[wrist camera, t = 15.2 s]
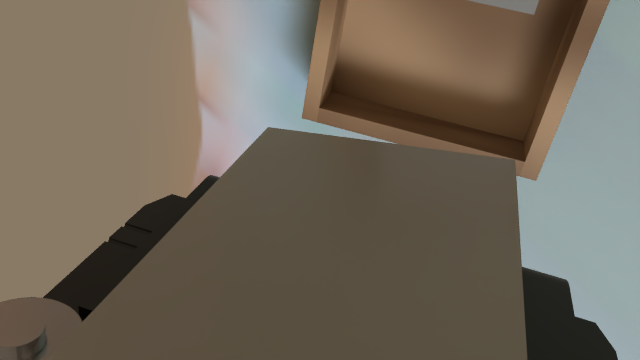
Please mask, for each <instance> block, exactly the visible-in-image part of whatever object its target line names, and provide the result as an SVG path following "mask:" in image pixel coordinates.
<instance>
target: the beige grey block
mask: <svg viewBox="0 0 640 360" xmlns="http://www.w3.org/2000/svg"><path fill="white" fill-rule="evenodd" d="M47 360H527V346H526V329H525V313H524V297H523V280H522V264H521V248H520V231H519V215H518V198H517V182H516V166H515V160H514V159H506V158H498V157H491V156H483V155H476V154H468V153H460V152H453V151H445V150H438V149H430V148H422V147H415V146H407V145H400V144H392V143H384V142H377V141H369V140H361V139H354V138H346V137H339V136H331V135H323V134H316V133H308V132H301V131H293V130H285V129H278V128H270V127H268V128H267V129H266V130H265V131H264V132H263V133H262V134H261V135H260V136H259V137H258V138H257V139H256V140H255V142H254V143H253V144H252V145H251V146H250V147H249V148H248V149H247V150H246V151H245V152H244V153H243V154H242V155H241V156H240V157H239V158H238V159H237V160H236V161H235V162H234V164H233V165H232V166H231V167H230V168H229V169H228V170H227V171H226V172H225V173H224V174H223V175H222V176H221V177H220V178H219V179H218V180H217V181H216V182H215V183H214V185H213V186H212V187H211V188H210V189H209V190H208V191H207V192H206V193H205V194H204V195H203V196H202V197H201V198H200V199H199V200H198V201H197V202H196V203H195V204H194V205H193V207H192V208H191V209H190V210H189V211H188V212H187V213H186V214H185V215H184V216H183V217H182V218H181V219H180V220H179V221H178V222H177V223H176V224H175V225H174V226H173V227H172V229H171V230H170V231H169V232H168V233H167V234H166V235H165V236H164V237H163V238H162V239H161V240H160V241H159V242H158V243H157V244H156V245H155V246H154V247H153V248H152V250H151V251H150V252H149V253H148V254H147V255H146V256H145V257H144V258H143V259H142V260H141V261H140V262H139V263H138V264H137V265H136V266H135V267H134V268H133V269H132V270H131V272H130V273H129V274H128V275H127V276H126V277H125V278H124V279H123V280H122V281H121V282H120V283H119V284H118V285H117V286H116V287H115V288H114V289H113V290H112V291H111V292H110V294H109V295H108V296H107V297H106V298H105V299H104V300H103V301H102V302H101V303H100V304H99V305H98V306H97V307H96V308H95V309H94V310H93V311H92V312H91V313H90V315H89V316H88V317H87V318H86V319H85V320H84V321H83V322H82V323H81V324H80V325H79V326H78V327H77V328H76V329H75V330H74V331H73V332H72V333H71V334H70V335H69V337H68V338H67V339H66V340H65V341H64V342H63V343H62V344H61V345H60V346H59V347H58V348H57V349H56V350H55V351H54V352H53V353H52V354H51V355H50V356H49V357H48V359H47Z"/></svg>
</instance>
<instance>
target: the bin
mask: <svg viewBox="0 0 640 360" xmlns="http://www.w3.org/2000/svg"><path fill="white" fill-rule="evenodd" d="M609 1H610V0H539V2H538V5H537V8H536V11H535V13H534V15H532V14H528V13H523V12H519V11H514V10H509V9H505V8H500V7H496V6H491V5H487V4H482V3H478V2H473V1H469V0H321V1H320V7H319V13H318V19H317V26H316V32H315V38H314V45H313V51H312V57H311V64H310V70H309V76H308V82H307V89H306V95H305V101H304V108H303V114H302V118H303V119H307V120H311V121H315V122H318V123H322V124H326V125H330V126H333V127H337V128H341V129H345V130H348V131H352V132H356V133H360V134H363V135H367V136H371V137H374V138H378V139H382V140H386V141H389V142H393V143H397V144H401V145H407V146H415V147H422V148H430V149H438V150H445V151H453V152H460V153H468V154H476V155H483V156H491V157H498V158H506V159H514V160H515V166H516V176H520V177H524V178H528V179H531V180H535V181H536V180H537V177H538V175H539V172H540V170H541V167H542V165H543V162H544V160H545V158H546V155H547V153H548V150H549V148H550V145H551V143H552V140H553V138H554V136H555V133H556V131H557V128H558V126H559V123H560V121H561V118H562V116H563V113H564V111H565V109H566V106H567V104H568V101H569V99H570V96H571V94H572V91H573V89H574V87H575V84H576V82H577V79H578V77H579V74H580V72H581V69H582V67H583V65H584V62H585V60H586V57H587V55H588V52H589V50H590V47H591V45H592V43H593V40H594V38H595V35H596V33H597V30H598V28H599V25H600V23H601V20H602V18H603V16H604V13H605V11H606V8H607V6H608V3H609Z"/></svg>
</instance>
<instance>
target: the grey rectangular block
mask: <svg viewBox="0 0 640 360" xmlns="http://www.w3.org/2000/svg"><path fill="white" fill-rule="evenodd" d="M469 1H473V2H478V3H482V4H487V5H491V6H496V7H500V8H505V9H509V10H514V11H519V12H523V13H528V14H532V15H534V13H535V11H536V8H537V5H538V2H539V0H469Z"/></svg>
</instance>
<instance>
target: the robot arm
mask: <svg viewBox="0 0 640 360" xmlns="http://www.w3.org/2000/svg"><path fill="white" fill-rule="evenodd" d="M219 178H220V177H216V176H213V175H210V176H208V177H207V178H206V179H205V180H204V181H203V182H202V183H201V184H200V185H199V186H198V187H197V188H196V189H195V190H194V191H193V192H192V193H191V194H190V195H189V196H188V197H187V198H183V197H180V196H177V195H173V194H172V195H169V196H167V197H164V198H162V199H159V200H157V201H155V202H152V203H150V204H147V205H145V206H144V207H142V208H141V209H140V210H139V211H138V212H137V213H136V214H135V215H134V216H133V217H131V218H130V219H129V220H128V221H127V222H126V223H125V226H124V227H120V229H118V230H117V231H116V232H115V233H114V234H113V235H112V236H110V237H109V241H108V242H104V243H103V244H102V245H101V246H99V248H97V249H96V250H95V251H94V252H93V253H92V254H91V255H90V256H89V257H88V258H86V259H85V260H84V261H83V262H82V263H81V264H80V265H79V266H77V267H76V268H75V269H74V270H73V271H72V272H71V273H70V274H69V275H67V276H66V277H65V278H64V279H63V280H62V281H61V282H60V283H59V284H58V285H56V286H55V287H54V288H53V289H52V290H51V291H50V292H49V293H48V294H46V295H45V296H44V297H43V298H37V297H27V298H17V299H11V300H7V301H3V302H0V360H47V359H48V357H49V356H50V355H51V354H52V353H53V352H54V351H55V350H56V349H57V348H58V347H59V346H60V345H61V344H62V343H63V342H64V341H65V340H66V339H67V338H68V337H69V335H70V334H71V333H72V332H73V331H74V330H75V329H76V328H77V327H78V326H79V325H80V324H81V323H82V322H83V321H84V320H85V319H86V318H87V317H88V316H89V315H90V313H91V312H92V311H93V310H94V309H95V308H96V307H97V306H98V305H99V304H100V303H101V302H102V301H103V300H104V299H105V298H106V297H107V296H108V295H109V294H110V292H111V291H112V290H113V289H114V288H115V287H116V286H117V285H118V284H119V283H120V282H121V281H122V280H123V279H124V278H125V277H126V276H127V275H128V274H129V273H130V272H131V270H132V269H133V268H134V267H135V266H136V265H137V264H138V263H139V262H140V261H141V260H142V259H143V258H144V257H145V256H146V255H147V254H148V253H149V252H150V251H151V250H152V248H153V247H154V246H155V245H156V244H157V243H158V242H159V241H160V240H161V239H162V238H163V237H164V236H165V235H166V234H167V233H168V232H169V231H170V230H171V229H172V227H173V226H174V225H175V224H176V223H177V222H178V221H179V220H180V219H181V218H182V217H183V216H184V215H185V214H186V213H187V212H188V211H189V210H190V209H191V208H192V207H193V205H194V204H195V203H196V202H197V201H198V200H199V199H200V198H201V197H202V196H203V195H204V194H205V193H206V192H207V191H208V190H209V189H210V188H211V187H212V186H213V185H214V183H215V182H216V181H217V180H218V179H219ZM522 280H523V297H524V313H525V329H526V346H527V360H618V358H617V354H616V351H615V350H614V348H613V347H612V345H611V344H610V343H609V341H608V340H607V338H606V337H605V336H604V334H603V333H602V331H601V330H600V329H599V327H598V326H597V324H596V323H594V322H591V321H588V320H585V319H581V318H578V317H575V316H574V310H573V305H572V299H571V293H570V287H569V283H568V281H567V280H565V279H562V278H558V277H555V276H552V275H548V274H545V273H541V272H538V271H535V270H531V269H528V268H524V267H522Z"/></svg>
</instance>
